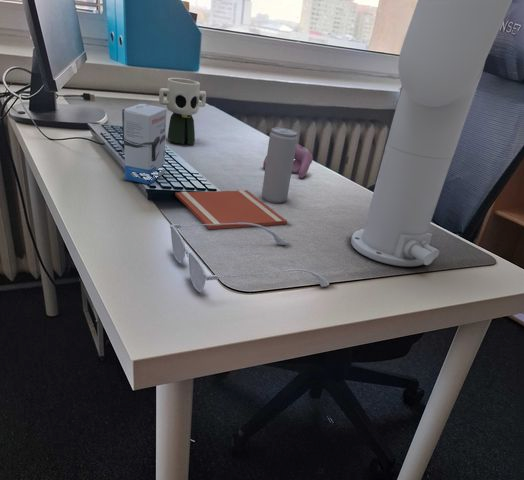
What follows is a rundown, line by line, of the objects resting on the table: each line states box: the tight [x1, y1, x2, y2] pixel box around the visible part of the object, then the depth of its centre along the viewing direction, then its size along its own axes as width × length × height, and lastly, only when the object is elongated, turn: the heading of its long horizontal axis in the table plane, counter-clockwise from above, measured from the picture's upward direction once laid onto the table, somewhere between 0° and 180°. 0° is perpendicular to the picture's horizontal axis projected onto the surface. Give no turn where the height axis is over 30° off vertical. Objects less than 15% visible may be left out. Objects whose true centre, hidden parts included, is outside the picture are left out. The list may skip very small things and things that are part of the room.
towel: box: [174, 189, 288, 230], centre depth 87 cm, size 15×14×1 cm
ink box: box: [123, 103, 168, 185], centre depth 92 cm, size 8×5×12 cm, turn 168°
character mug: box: [158, 77, 207, 145], centre depth 115 cm, size 11×7×13 cm, turn 117°
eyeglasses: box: [169, 223, 330, 293], centre depth 68 cm, size 15×18×4 cm
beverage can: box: [261, 127, 298, 204], centre depth 91 cm, size 5×5×12 cm
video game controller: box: [262, 143, 314, 179], centre depth 110 cm, size 10×5×7 cm, turn 65°
